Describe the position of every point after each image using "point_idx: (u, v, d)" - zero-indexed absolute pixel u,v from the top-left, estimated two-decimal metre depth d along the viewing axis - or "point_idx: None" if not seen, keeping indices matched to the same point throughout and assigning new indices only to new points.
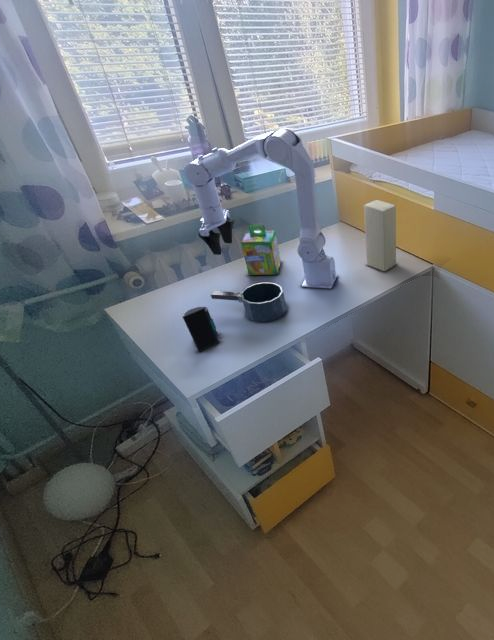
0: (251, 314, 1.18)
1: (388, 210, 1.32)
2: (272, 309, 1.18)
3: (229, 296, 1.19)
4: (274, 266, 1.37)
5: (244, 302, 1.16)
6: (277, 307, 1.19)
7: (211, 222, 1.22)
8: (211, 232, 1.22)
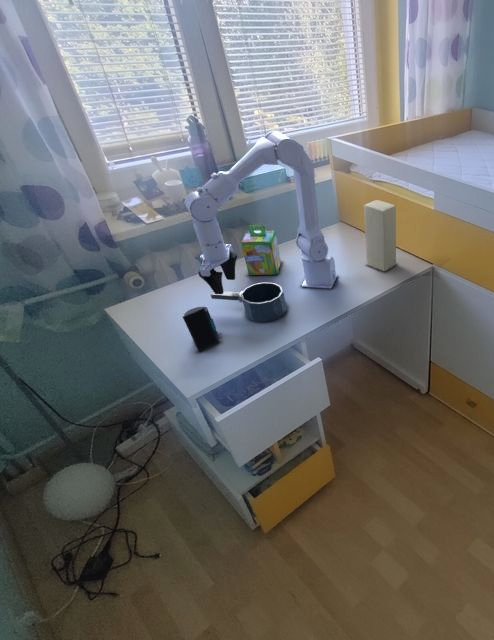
0: (251, 314, 1.18)
1: (388, 210, 1.32)
2: (272, 309, 1.18)
3: (229, 296, 1.19)
4: (274, 266, 1.37)
5: (244, 302, 1.16)
6: (277, 307, 1.19)
7: (212, 260, 1.10)
8: (212, 271, 1.10)
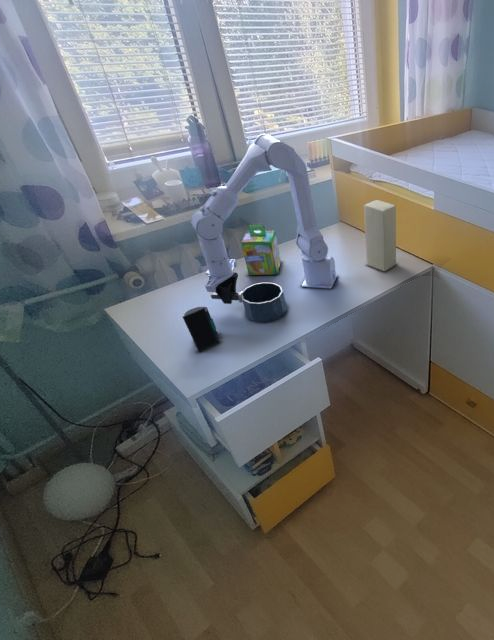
0: (251, 314, 1.18)
1: (388, 210, 1.32)
2: (272, 309, 1.18)
3: None
4: (274, 266, 1.37)
5: (244, 302, 1.16)
6: (277, 307, 1.19)
7: (218, 276, 1.13)
8: (222, 282, 1.15)
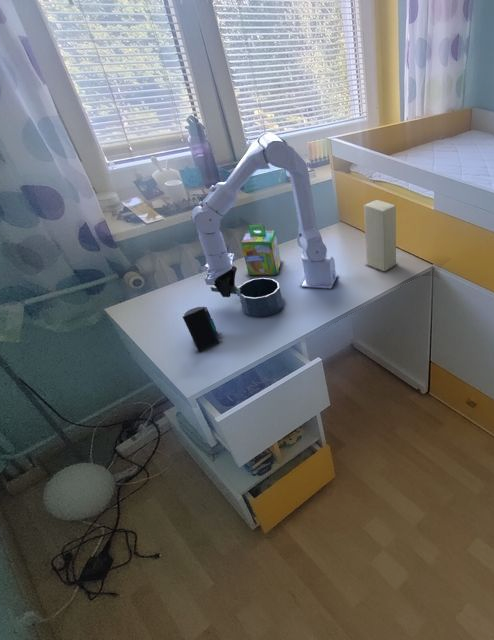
0: (246, 308, 1.20)
1: (388, 210, 1.32)
2: (267, 304, 1.19)
3: None
4: (274, 266, 1.37)
5: (240, 296, 1.18)
6: (272, 303, 1.20)
7: (217, 269, 1.16)
8: (220, 276, 1.17)
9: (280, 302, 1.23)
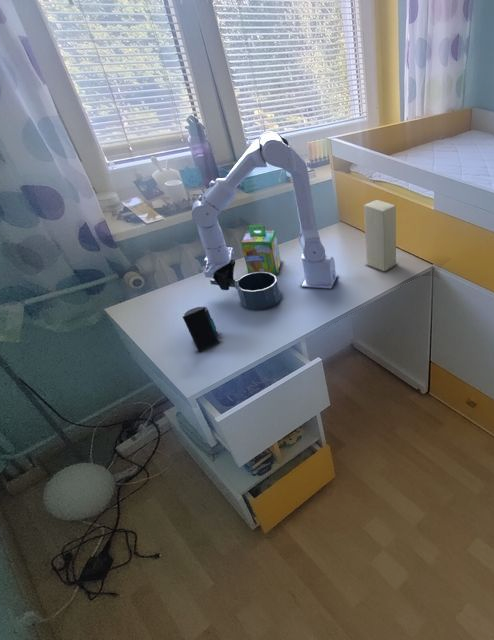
0: (244, 301, 1.23)
1: (388, 210, 1.32)
2: (264, 298, 1.22)
3: None
4: (274, 266, 1.37)
5: (238, 289, 1.21)
6: (269, 296, 1.23)
7: (216, 262, 1.19)
8: (219, 269, 1.20)
9: (277, 296, 1.26)
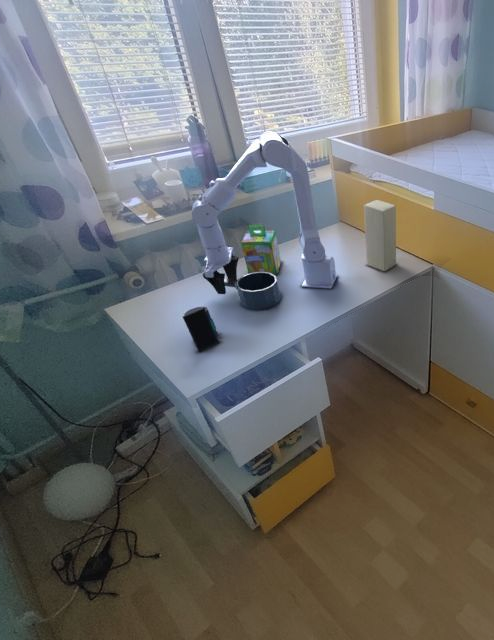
0: (244, 301, 1.23)
1: (388, 210, 1.32)
2: (264, 298, 1.22)
3: (226, 283, 1.25)
4: (274, 266, 1.37)
5: (238, 289, 1.21)
6: (269, 296, 1.23)
7: (216, 262, 1.19)
8: (216, 273, 1.19)
9: (277, 296, 1.26)
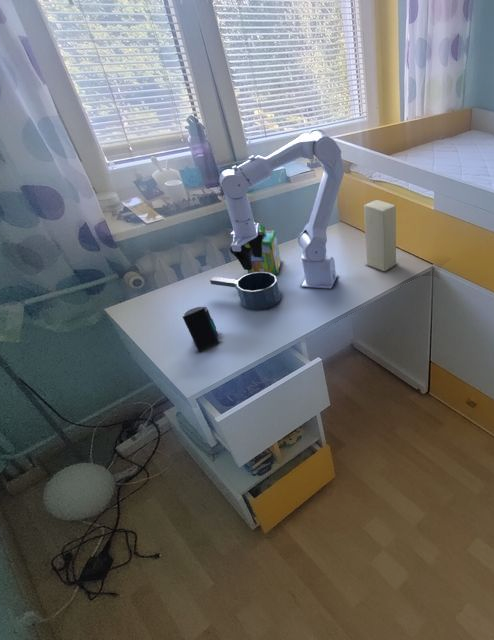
0: (244, 301, 1.23)
1: (388, 210, 1.32)
2: (264, 298, 1.22)
3: (226, 283, 1.25)
4: (274, 266, 1.37)
5: (238, 289, 1.21)
6: (269, 296, 1.23)
7: (243, 236, 1.15)
8: (243, 247, 1.15)
9: (277, 296, 1.26)
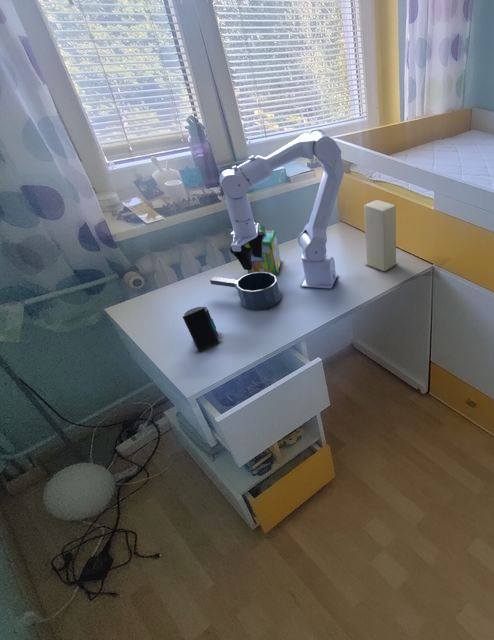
0: (244, 301, 1.23)
1: (388, 210, 1.32)
2: (264, 298, 1.22)
3: (226, 283, 1.25)
4: (274, 266, 1.37)
5: (238, 289, 1.21)
6: (269, 296, 1.23)
7: (243, 236, 1.15)
8: (243, 247, 1.15)
9: (277, 296, 1.26)
